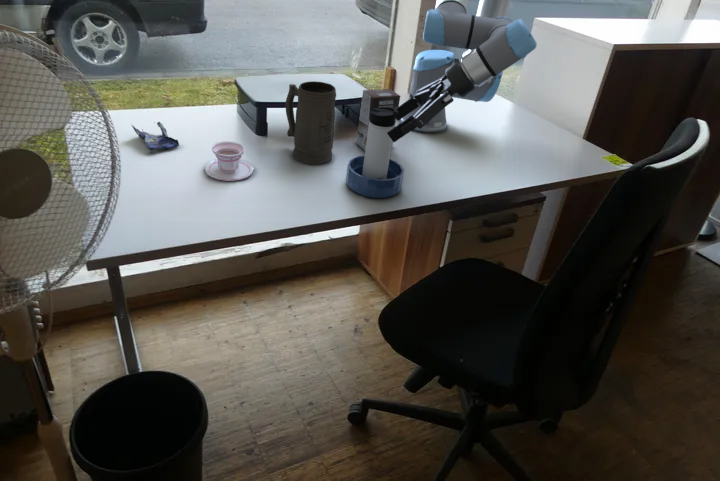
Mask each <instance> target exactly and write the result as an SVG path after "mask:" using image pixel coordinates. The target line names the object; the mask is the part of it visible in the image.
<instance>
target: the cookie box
mask: <svg viewBox="0 0 720 481" xmlns="http://www.w3.org/2000/svg"><path fill="white" fill-rule="evenodd" d="M400 101H401V95H400V94H399V93H397V92H395V91H393V90H392V89H391V88H382V89H363V90H362V96H361V102H360V103H361V105H360V111H359V119H358V125H357V126H358V128H357V134H356V141H355V142H356V144H357V145H358V146H359V147H360V148H361V149H363V151H365V149H366V142H367V134H368V126H369V120H370V113H371V111H372V110H373V109H374V108H378V107H389V108H393V109H396V108H397V107H399V106H400ZM396 126H397V120H396V119H395V126H394V127H396ZM393 145H394V142H393V141H392V146H391V149H392V148H393Z"/></svg>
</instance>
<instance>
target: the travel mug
mask: <svg viewBox="0 0 720 481" xmlns="http://www.w3.org/2000/svg"><path fill="white" fill-rule="evenodd" d="M396 115H398V110H395V109H393V108H389V107H378V108H374V109H373V110H372V111H371V113H370V120H369V126H368V134H367V142H366V149H365V150H364V155H365V157H364V164H363V172H362V176H365V177H368V178H372V179H386V178H387V172H388V165H389V159H391V152H392V148H391V146H392V147H393V144H392V139H391V138H390V137H389V136H388V134H387V132H388V131H390V130H391V129H393V128H394V126H395V119H396ZM395 127H396V126H395Z"/></svg>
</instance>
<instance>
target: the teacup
mask: <svg viewBox="0 0 720 481" xmlns="http://www.w3.org/2000/svg"><path fill="white" fill-rule="evenodd" d="M211 151H212V153H213V154H214V155H215V158H216V159H214V160H211V161H209V162H208V163H206V165H205V167H204V172H205V173H206V174H207V175H206V176H209V177H211V178H212V179H214V180H218V181H219V180H220V181H225V182H235V181H242V180H244V179H247V178H249V177H251V176H252V175H253V173H254V166H253V165H252V164H251V163H249V162H248V161H246V160H243V159H241V158H242V155H244V153H245V147H244V145H242V144H241V143H238V142H237V141H231V140H222V141H218V142H215V143H214V144H213V145H212V148H211Z"/></svg>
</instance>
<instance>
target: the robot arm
mask: <svg viewBox="0 0 720 481" xmlns="http://www.w3.org/2000/svg"><path fill="white" fill-rule="evenodd" d="M511 2H512V0H479V2H478V7H477V11H476V15H475V14H474V15H473V14H467V12H468V6H469V0H436V2H435V8H433V9H432V8H430V9H427V12H426V15H425V22H424V28H423V33H422V39H423V41H424V42H425V43H428V44H431V45H436V46H440V47H441V46H442V47H449V48H457V49H462V50H463V49H464V51H463V52H462V55H461V58H457V57H456V56H455V52H452V51H449V50H445V49H427V50H424V51H421V52H419V53H418V54H417V55H416V57H415V61H414V64H413V68H412V70H413V73H412V76H411V77H412V78H411V83H410V88H409V95H408V99H407V100H406V101H404V102H403V103H401V104H399V107H397V108H396V109H395V110H398V115H396V122H399V124H396V126H395V127H394V128H393V129H391V130H390V131H388V132H387V134H388V136H389V137H390V138H391V139H392V141H393V143H396V142H397V141H399V140H400V139H402V138H403V137H405V136H406V135H407V134H410V133H411V132H412V131H415V132H421V133H425V134H426V133H427V134H428V133H429V134H433V133H440V132H443V131H444V130H445V129H446V127H447V115H446V113H447V112H446V107H447V106H449V105H450V104H452V103H453V102H454V99H460V100H461V99H462V100H467V101H471V102H473V101H474V102H476V103H478V102H482V103H489V102H490V101H492V100H493V98H494V97H495V95H496V94H497V92H498V90H499V87H500V84H501V80H502V77H503V74H504V71H505V70H507V69H509V68H510V67H511V66H512V65H515V64H517V62H518V61H520V60H522V59H524V58H526V57H527V56H528V55H529V54H530V53H532V52H533V51H534V50H536V48H537V45H538V44H537V40H535V38H534V36H533V34H532V33H531V31H530V29H529V28H528V26H527V24H526V22H525V21H524V20H523V19H522V18H517V19H515V20H512V19H511V18H509V17H508V13H509V10H510V6H511Z"/></svg>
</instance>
